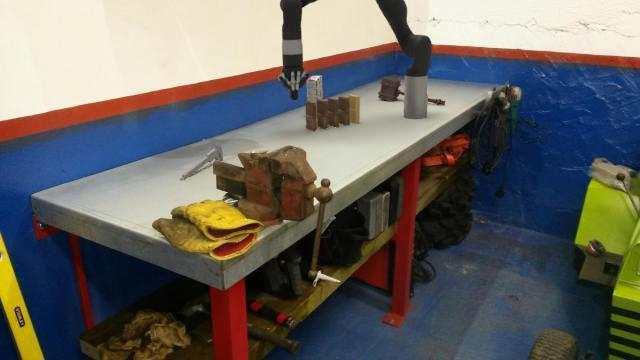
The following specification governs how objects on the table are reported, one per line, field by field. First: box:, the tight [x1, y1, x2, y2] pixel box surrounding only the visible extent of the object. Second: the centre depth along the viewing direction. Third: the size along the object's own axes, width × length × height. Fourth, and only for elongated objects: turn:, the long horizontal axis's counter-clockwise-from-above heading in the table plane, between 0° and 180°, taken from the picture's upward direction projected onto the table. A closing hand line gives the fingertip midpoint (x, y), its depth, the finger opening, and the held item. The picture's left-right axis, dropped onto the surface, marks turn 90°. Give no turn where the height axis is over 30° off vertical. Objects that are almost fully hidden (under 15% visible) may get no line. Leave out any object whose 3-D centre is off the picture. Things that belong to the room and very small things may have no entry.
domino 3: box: [326, 96, 340, 128], centre depth 200 cm, size 2×5×11 cm, turn 30°
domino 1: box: [304, 100, 318, 132], centre depth 196 cm, size 2×5×11 cm, turn 30°
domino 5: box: [348, 93, 361, 125], centre depth 205 cm, size 2×5×11 cm, turn 30°
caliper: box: [179, 142, 224, 181], centre depth 154 cm, size 20×1×6 cm, turn 155°
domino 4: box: [337, 95, 351, 127], centre depth 203 cm, size 2×5×11 cm, turn 30°
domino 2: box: [317, 98, 329, 130], centre depth 198 cm, size 2×5×11 cm, turn 30°
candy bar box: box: [305, 75, 324, 109], centre depth 217 cm, size 11×5×16 cm, turn 168°
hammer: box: [377, 75, 447, 106], centre depth 240 cm, size 7×33×10 cm, turn 57°
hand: (294, 99), depth 190 cm, fingers closed
